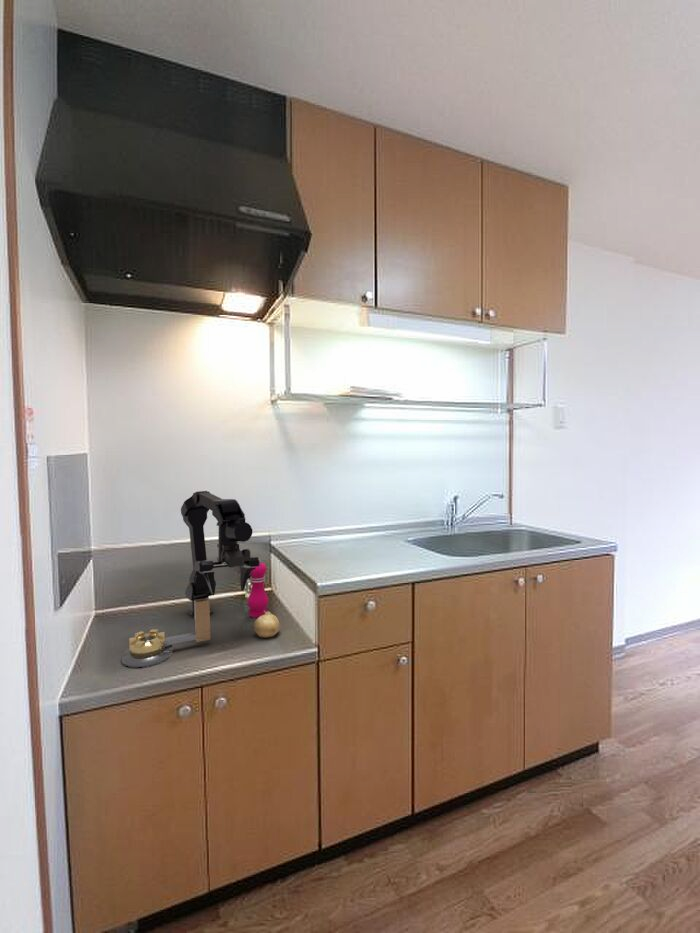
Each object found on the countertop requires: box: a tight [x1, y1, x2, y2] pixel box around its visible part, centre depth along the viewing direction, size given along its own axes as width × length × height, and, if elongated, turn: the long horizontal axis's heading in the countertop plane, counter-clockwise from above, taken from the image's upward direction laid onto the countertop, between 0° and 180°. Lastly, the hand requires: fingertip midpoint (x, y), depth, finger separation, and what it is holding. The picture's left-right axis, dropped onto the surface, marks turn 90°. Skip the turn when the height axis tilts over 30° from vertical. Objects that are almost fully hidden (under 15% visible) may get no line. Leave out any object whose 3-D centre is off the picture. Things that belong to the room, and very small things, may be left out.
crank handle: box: [128, 598, 211, 658], centre depth 127 cm, size 22×9×12 cm, turn 116°
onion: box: [253, 611, 280, 639], centre depth 138 cm, size 8×8×7 cm
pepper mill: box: [247, 558, 269, 619], centre depth 153 cm, size 7×7×20 cm
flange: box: [121, 644, 173, 669], centre depth 124 cm, size 13×13×2 cm
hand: (227, 592), depth 134 cm, fingers open, 9 cm apart
